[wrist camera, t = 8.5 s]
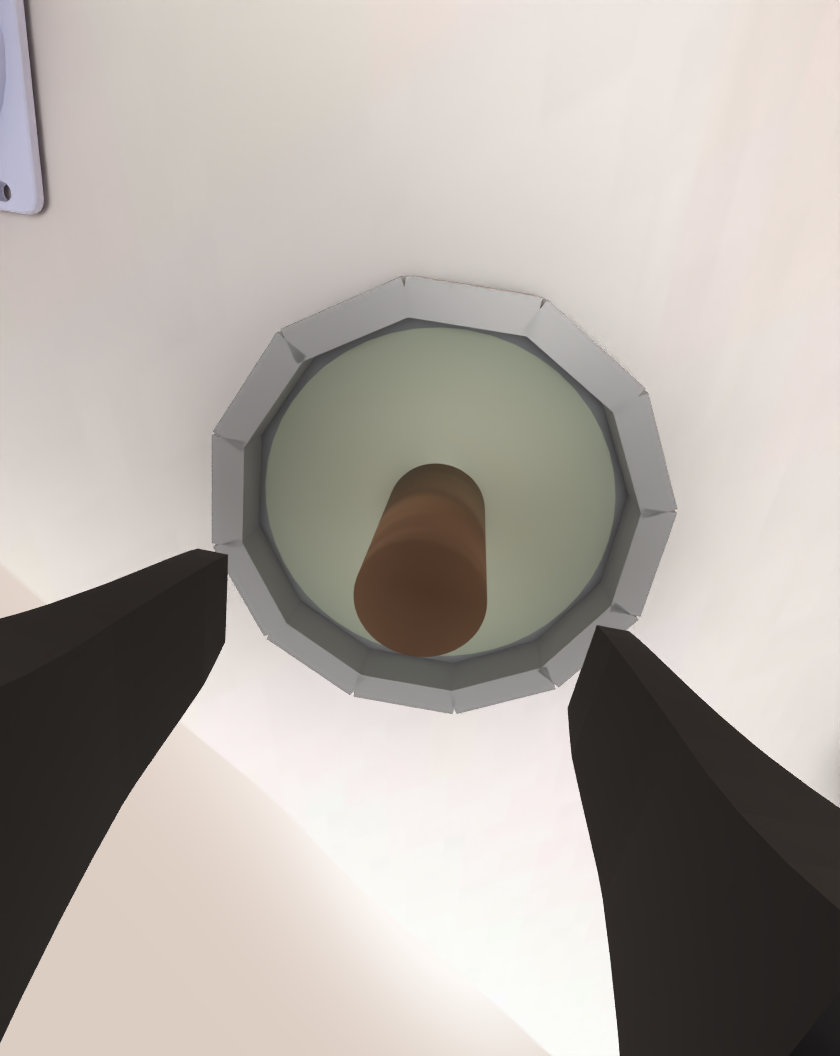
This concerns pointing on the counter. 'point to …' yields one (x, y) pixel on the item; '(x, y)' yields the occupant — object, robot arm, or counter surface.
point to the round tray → (453, 439)
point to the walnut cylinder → (426, 565)
